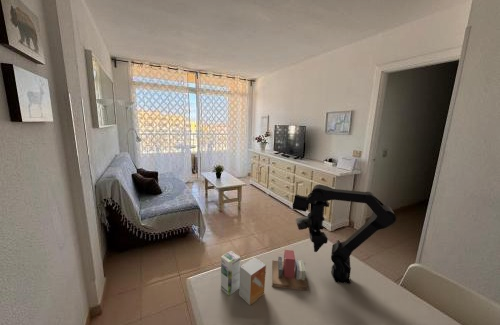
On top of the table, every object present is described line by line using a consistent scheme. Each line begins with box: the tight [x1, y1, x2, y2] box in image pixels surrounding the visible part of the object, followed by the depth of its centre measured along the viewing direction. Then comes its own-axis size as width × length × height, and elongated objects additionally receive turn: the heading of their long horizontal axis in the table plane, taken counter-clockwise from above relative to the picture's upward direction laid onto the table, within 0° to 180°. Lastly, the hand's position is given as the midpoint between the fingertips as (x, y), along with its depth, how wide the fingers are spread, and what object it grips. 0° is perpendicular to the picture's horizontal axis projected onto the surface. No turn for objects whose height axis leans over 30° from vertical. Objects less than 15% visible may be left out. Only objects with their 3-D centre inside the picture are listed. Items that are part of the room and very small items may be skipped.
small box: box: [238, 257, 267, 306], centre depth 78 cm, size 8×6×13 cm
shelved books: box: [295, 258, 306, 280], centre depth 88 cm, size 3×7×4 cm, turn 174°
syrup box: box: [220, 250, 241, 297], centre depth 81 cm, size 6×6×14 cm
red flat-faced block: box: [283, 249, 296, 278], centre depth 88 cm, size 4×6×9 cm, turn 174°
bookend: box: [277, 256, 283, 279], centre depth 89 cm, size 2×8×4 cm, turn 174°
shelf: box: [271, 259, 308, 291], centre depth 89 cm, size 14×14×2 cm
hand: (313, 245), depth 92 cm, fingers open, 9 cm apart
